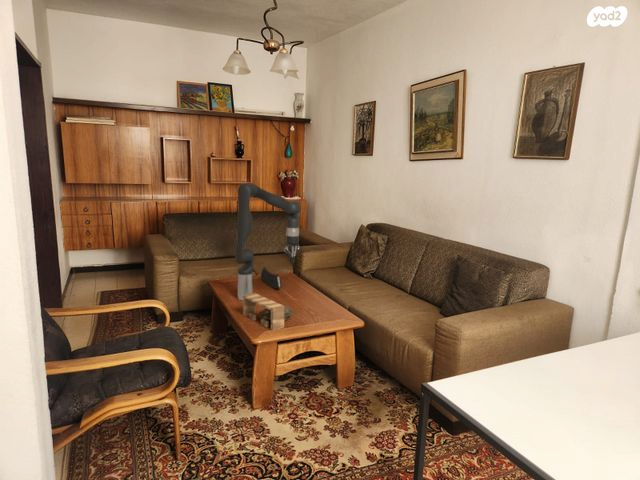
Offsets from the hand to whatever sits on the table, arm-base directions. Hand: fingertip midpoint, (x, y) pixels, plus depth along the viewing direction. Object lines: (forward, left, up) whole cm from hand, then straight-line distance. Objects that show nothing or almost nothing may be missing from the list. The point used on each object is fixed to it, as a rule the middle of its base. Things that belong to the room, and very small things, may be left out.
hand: (292, 262), depth 249 cm
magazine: (-43, +16, -29) cm, 54 cm away
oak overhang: (+8, -27, -28) cm, 40 cm away
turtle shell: (+9, -20, -29) cm, 36 cm away
